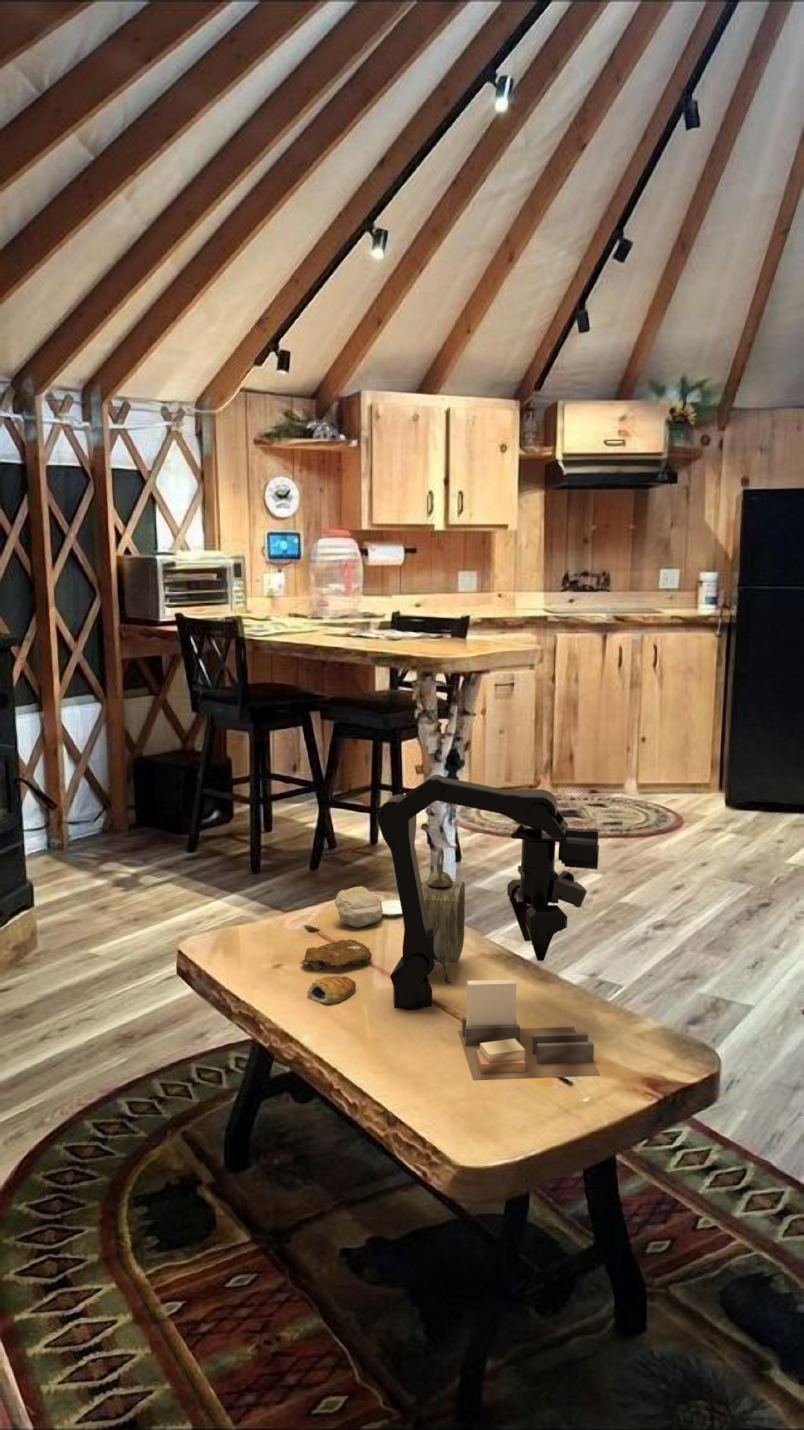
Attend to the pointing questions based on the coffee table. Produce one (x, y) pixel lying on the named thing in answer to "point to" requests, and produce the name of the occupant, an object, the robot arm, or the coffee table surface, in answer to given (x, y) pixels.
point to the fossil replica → (358, 907)
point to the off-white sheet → (491, 1002)
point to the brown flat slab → (336, 954)
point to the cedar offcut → (499, 1065)
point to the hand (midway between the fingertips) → (533, 950)
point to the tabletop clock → (446, 912)
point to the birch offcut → (502, 1051)
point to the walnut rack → (534, 1051)
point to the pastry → (332, 989)
